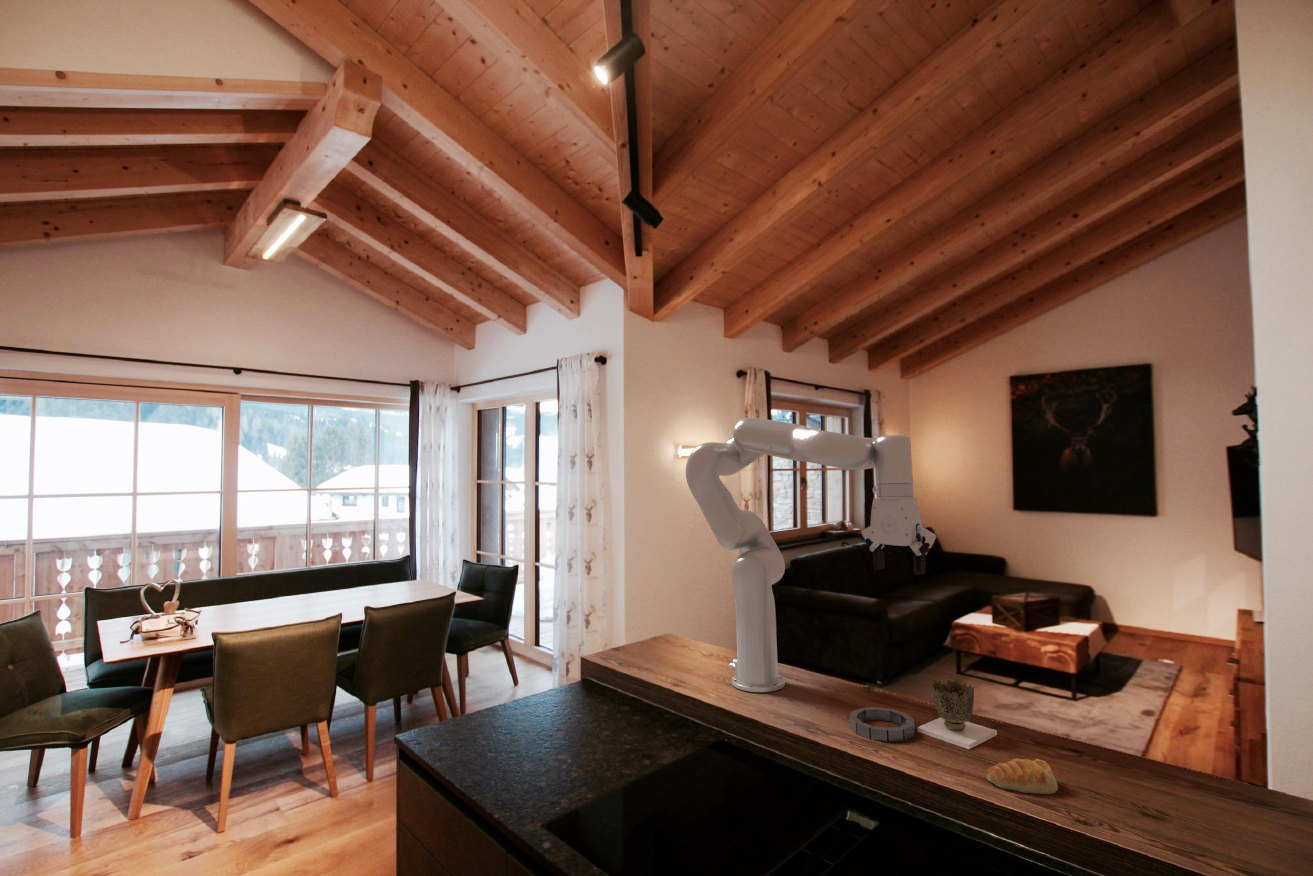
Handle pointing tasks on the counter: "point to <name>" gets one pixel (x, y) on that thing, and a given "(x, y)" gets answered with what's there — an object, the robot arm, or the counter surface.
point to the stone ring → (881, 732)
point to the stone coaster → (958, 733)
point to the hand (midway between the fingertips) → (898, 571)
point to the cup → (953, 703)
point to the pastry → (1024, 776)
